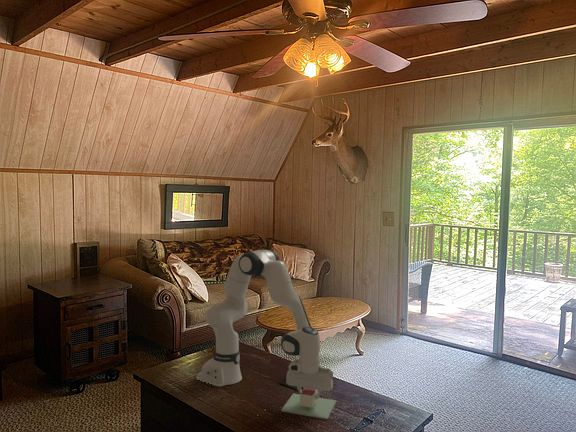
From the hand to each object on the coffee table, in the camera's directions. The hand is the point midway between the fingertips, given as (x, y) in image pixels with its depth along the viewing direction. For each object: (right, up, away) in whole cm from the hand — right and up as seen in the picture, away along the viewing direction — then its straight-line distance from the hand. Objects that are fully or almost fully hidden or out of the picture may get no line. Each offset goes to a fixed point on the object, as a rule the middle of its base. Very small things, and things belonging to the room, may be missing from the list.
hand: (309, 397), depth 186 cm
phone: (-5, -4, +21) cm, 22 cm away
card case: (0, -2, 0) cm, 2 cm away
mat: (0, -4, 0) cm, 4 cm away
